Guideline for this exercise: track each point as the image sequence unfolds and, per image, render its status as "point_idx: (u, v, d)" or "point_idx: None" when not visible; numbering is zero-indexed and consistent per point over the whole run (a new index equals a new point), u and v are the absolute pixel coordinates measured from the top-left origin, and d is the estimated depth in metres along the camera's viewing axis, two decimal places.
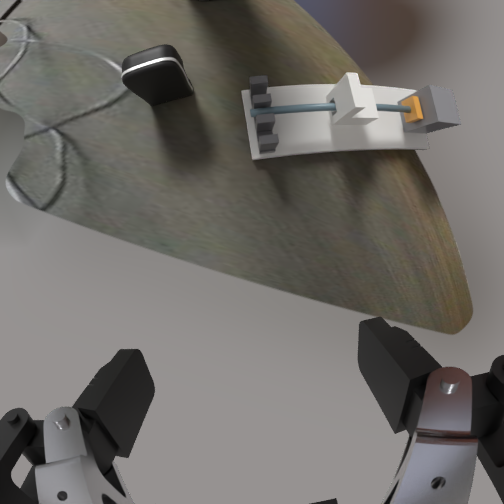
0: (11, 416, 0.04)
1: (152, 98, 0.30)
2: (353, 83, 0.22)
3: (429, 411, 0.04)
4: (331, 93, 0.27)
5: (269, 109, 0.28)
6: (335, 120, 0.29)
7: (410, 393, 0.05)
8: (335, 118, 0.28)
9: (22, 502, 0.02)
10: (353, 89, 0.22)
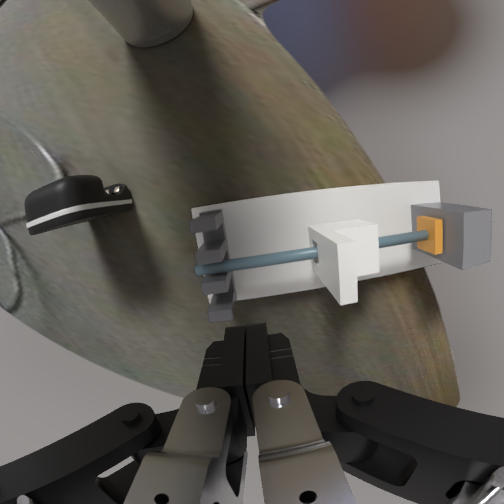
0: (129, 415, 0.05)
1: None
2: (345, 263, 0.16)
3: (265, 430, 0.04)
4: (314, 234, 0.22)
5: (221, 268, 0.22)
6: (316, 272, 0.23)
7: None
8: (316, 270, 0.23)
9: (97, 501, 0.03)
10: (343, 275, 0.16)
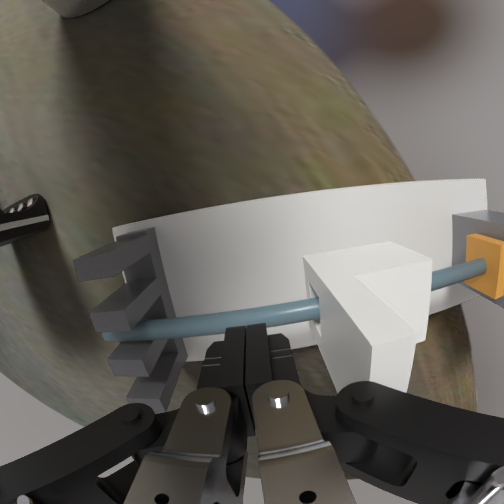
0: (129, 416, 0.05)
1: None
2: (385, 383, 0.05)
3: (265, 430, 0.04)
4: (314, 277, 0.11)
5: (138, 335, 0.12)
6: (316, 340, 0.12)
7: None
8: (317, 337, 0.12)
9: (97, 501, 0.03)
10: None
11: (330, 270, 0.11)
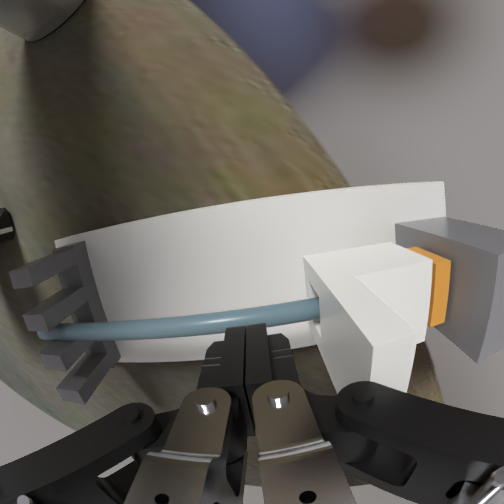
0: (129, 416, 0.05)
1: None
2: (386, 384, 0.05)
3: (265, 430, 0.04)
4: (314, 277, 0.11)
5: (59, 335, 0.12)
6: (316, 340, 0.12)
7: None
8: (316, 338, 0.12)
9: (97, 501, 0.03)
10: None
11: (330, 270, 0.11)
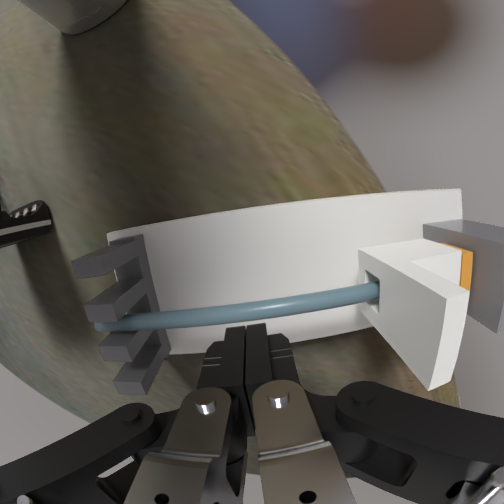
0: (128, 416, 0.05)
1: (2, 247, 0.16)
2: (451, 329, 0.07)
3: (265, 430, 0.04)
4: (375, 264, 0.13)
5: (124, 326, 0.14)
6: (370, 319, 0.14)
7: None
8: (371, 317, 0.14)
9: (97, 501, 0.03)
10: (443, 348, 0.07)
11: (389, 258, 0.12)
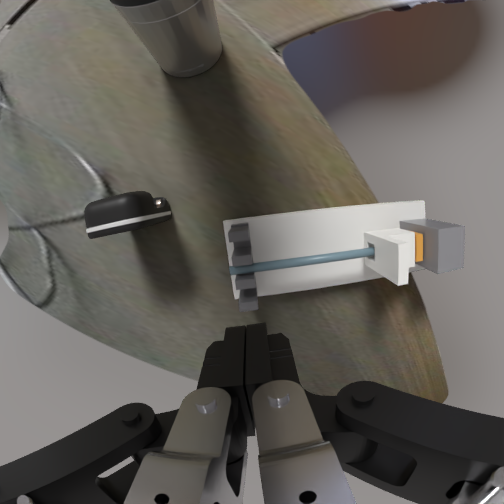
0: (129, 416, 0.05)
1: None
2: (402, 257, 0.22)
3: (265, 430, 0.04)
4: (372, 238, 0.28)
5: (250, 269, 0.29)
6: (371, 266, 0.29)
7: None
8: (371, 265, 0.29)
9: (97, 501, 0.03)
10: (400, 265, 0.22)
11: (378, 235, 0.28)
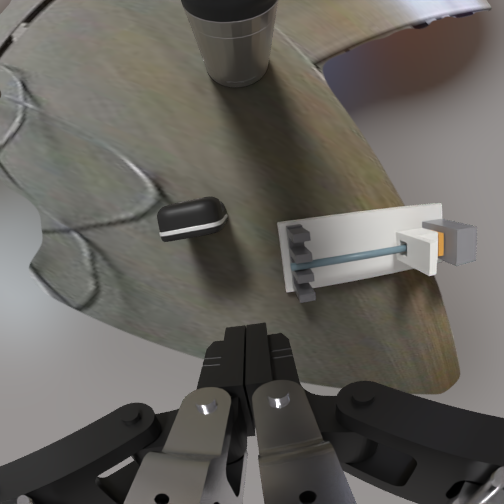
0: (129, 416, 0.05)
1: None
2: (432, 253, 0.26)
3: (265, 430, 0.04)
4: (404, 237, 0.32)
5: (309, 265, 0.33)
6: (403, 260, 0.33)
7: None
8: (403, 259, 0.33)
9: (97, 501, 0.03)
10: (431, 259, 0.27)
11: (409, 234, 0.32)
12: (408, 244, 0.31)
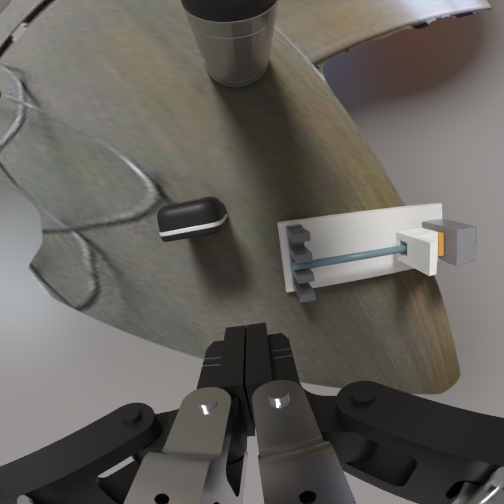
0: (129, 415, 0.05)
1: None
2: (432, 253, 0.26)
3: (265, 430, 0.04)
4: (404, 237, 0.32)
5: (309, 265, 0.33)
6: (403, 260, 0.33)
7: None
8: (403, 259, 0.33)
9: (97, 501, 0.03)
10: (431, 259, 0.27)
11: (409, 234, 0.32)
12: (408, 244, 0.31)
